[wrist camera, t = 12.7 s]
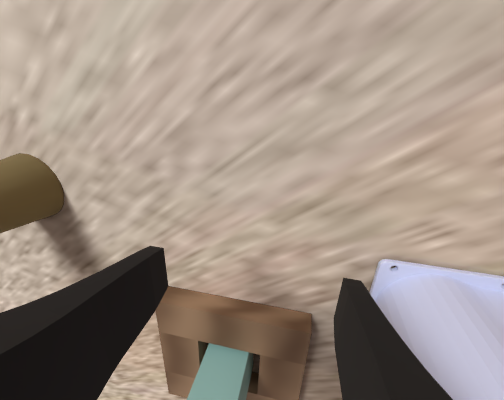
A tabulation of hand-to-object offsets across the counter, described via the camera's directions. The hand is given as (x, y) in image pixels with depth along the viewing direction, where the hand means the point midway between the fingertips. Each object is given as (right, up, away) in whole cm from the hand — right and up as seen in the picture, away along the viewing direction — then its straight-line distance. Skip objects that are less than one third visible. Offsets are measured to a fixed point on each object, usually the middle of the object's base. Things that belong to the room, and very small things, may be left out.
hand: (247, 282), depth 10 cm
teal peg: (-2, -12, +16) cm, 20 cm away
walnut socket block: (-2, -12, +16) cm, 21 cm away
